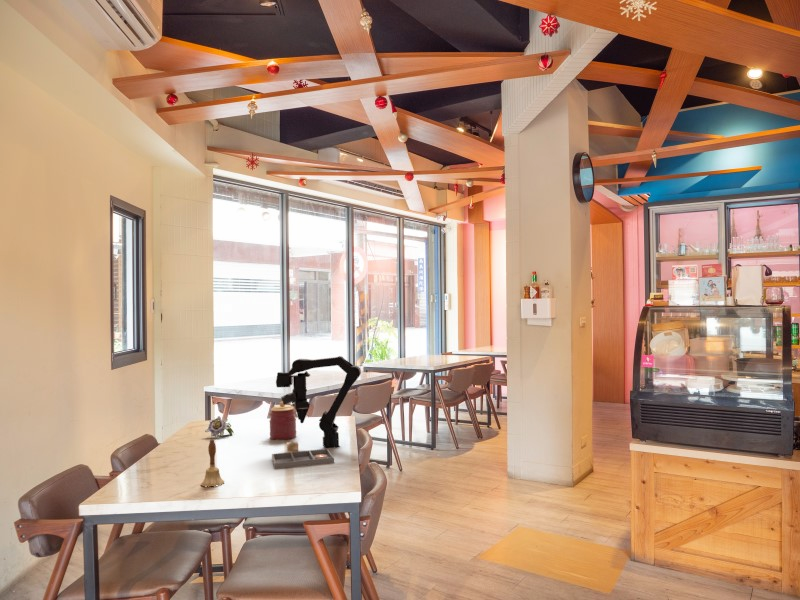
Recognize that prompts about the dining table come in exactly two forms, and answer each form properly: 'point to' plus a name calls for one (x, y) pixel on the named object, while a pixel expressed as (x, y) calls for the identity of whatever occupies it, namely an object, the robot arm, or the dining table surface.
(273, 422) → the canister
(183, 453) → the dining table surface
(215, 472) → the hand bell
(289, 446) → the letter cube
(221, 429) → the passion flower
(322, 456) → the peach egg shape
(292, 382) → the robot arm
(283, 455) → the organizer tray
